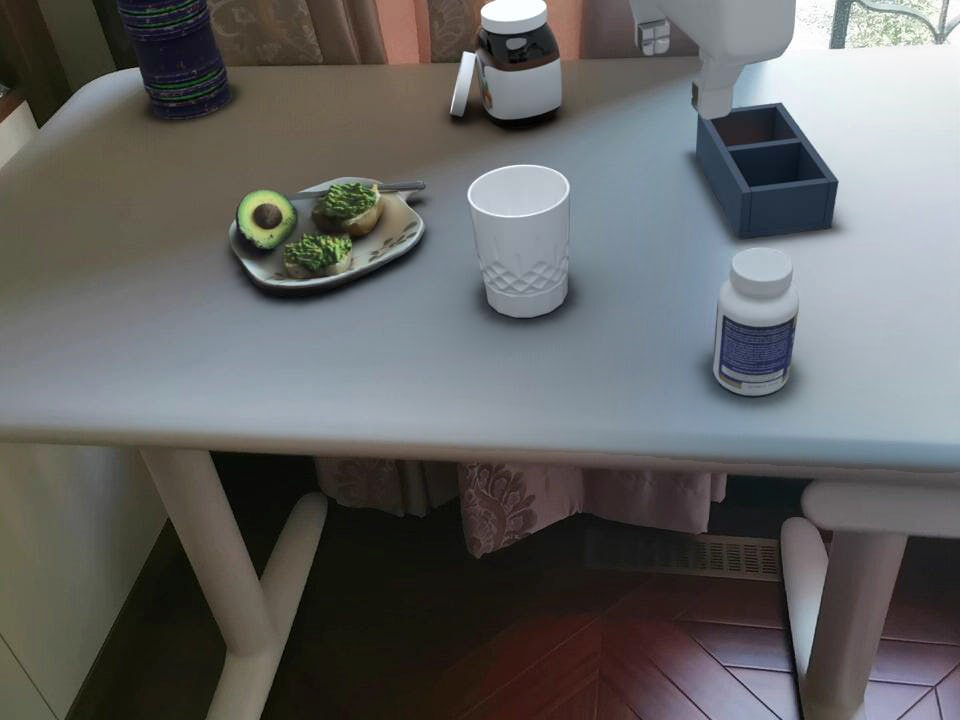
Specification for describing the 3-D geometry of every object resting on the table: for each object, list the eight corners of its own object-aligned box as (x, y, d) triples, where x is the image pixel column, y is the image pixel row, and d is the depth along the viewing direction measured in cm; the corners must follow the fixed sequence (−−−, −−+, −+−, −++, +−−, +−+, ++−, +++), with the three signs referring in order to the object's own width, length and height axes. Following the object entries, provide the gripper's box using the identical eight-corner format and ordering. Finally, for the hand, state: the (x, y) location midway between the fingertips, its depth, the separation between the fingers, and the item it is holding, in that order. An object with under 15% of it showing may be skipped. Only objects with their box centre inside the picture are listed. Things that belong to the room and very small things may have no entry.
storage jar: (234, 110, 114) (190, -46, 102) (151, 126, 113) (96, -30, 101) (231, 78, 121) (190, -71, 110) (153, 92, 120) (103, -57, 109)
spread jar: (573, 121, 103) (569, 14, 95) (476, 149, 100) (464, 41, 93) (526, 82, 112) (519, -19, 104) (436, 107, 109) (422, 5, 102)
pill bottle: (802, 389, 68) (819, 277, 62) (730, 405, 67) (741, 294, 61) (768, 343, 72) (782, 234, 66) (701, 358, 72) (708, 249, 65)
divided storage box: (776, 145, 95) (781, 101, 92) (831, 227, 83) (839, 180, 80) (695, 155, 95) (697, 112, 92) (738, 239, 83) (742, 192, 80)
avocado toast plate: (394, 166, 99) (387, 125, 96) (473, 242, 87) (468, 198, 84) (214, 227, 93) (201, 185, 90) (272, 319, 81) (258, 274, 78)
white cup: (525, 257, 84) (516, 154, 78) (593, 289, 80) (591, 183, 73) (460, 299, 80) (446, 195, 74) (528, 336, 76) (519, 228, 69)
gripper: (851, -151, 40) (813, 147, 49) (674, -223, 56) (669, 12, 65) (709, -126, 40) (695, 171, 48) (570, -206, 55) (579, 29, 64)
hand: (679, 79), depth 57 cm, fingers open, 8 cm apart
